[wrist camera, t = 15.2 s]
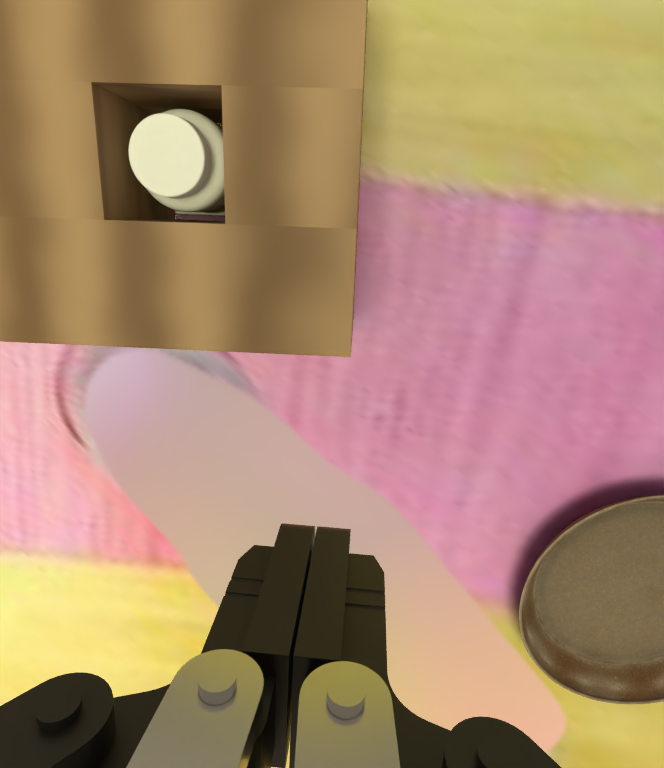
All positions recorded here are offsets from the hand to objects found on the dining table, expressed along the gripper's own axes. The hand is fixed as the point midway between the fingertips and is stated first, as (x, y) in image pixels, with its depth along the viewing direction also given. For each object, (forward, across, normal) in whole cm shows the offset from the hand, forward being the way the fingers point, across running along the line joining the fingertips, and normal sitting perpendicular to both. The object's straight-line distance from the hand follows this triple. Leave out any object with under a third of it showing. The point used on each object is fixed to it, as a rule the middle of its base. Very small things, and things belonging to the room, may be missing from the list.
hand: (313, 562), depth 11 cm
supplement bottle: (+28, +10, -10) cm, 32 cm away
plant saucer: (+31, -25, +22) cm, 45 cm away
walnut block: (+29, +10, -10) cm, 33 cm away
